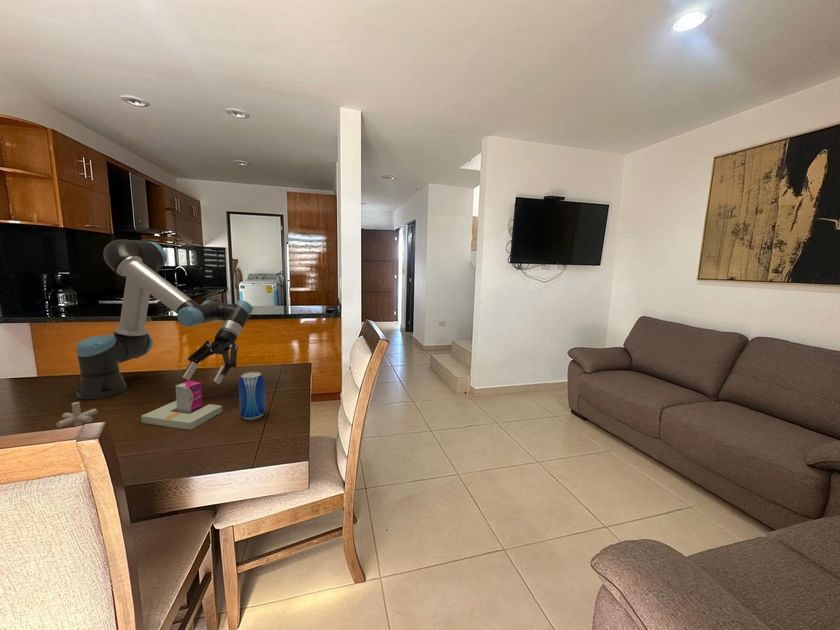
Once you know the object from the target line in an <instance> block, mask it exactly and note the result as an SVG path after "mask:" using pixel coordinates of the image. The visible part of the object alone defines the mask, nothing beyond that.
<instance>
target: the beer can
mask: <svg viewBox="0 0 840 630" xmlns="http://www.w3.org/2000/svg"><path fill="white" fill-rule="evenodd" d="M265 388H266V387H265V378H264V377H263V375H262V373H261V372H260V371H248V372H245V373H242V374H241V375H240V378H239V380H238V398H239V415H240V417H242V419H243V420H245V421H255V420H258V419H260V418H262V417H263V416H264V414H265V413H266V396H265V395H266V394H265V393H266V391H265ZM261 416H262V417H261ZM257 418H258V419H257ZM254 419H255V420H254Z"/></svg>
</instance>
